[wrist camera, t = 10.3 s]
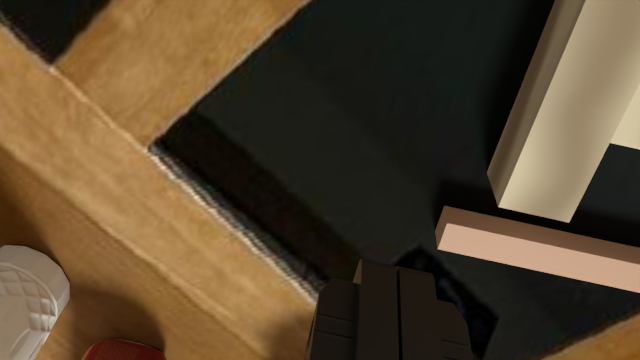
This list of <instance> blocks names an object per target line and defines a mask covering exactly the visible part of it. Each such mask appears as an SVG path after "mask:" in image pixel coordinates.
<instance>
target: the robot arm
mask: <svg viewBox="0 0 640 360" xmlns="http://www.w3.org/2000/svg"><path fill="white" fill-rule="evenodd" d="M470 346H471V344H470V339H469V333H468V327H467V323H466V322H465V320H464V319H463V317H462V316H461V314H460V313H459V311H458V310H457V308H456V307H455V305H454V304H453V303H448V302H443V301H439V300H436V292H435V283H434V277H433V274H431V273H426V272H422V271H417V270H412V269H407V268H403V267H395V266H393V265H388V264H383V263H379V262H374V261H369V260H364V259H360V261H359V264H358V267H357V271H356V274H355V278H354V281H353V282H348V281H344V280H339V279H334V278H332V279H331V280H330V281H329V282H328V283H327V285H326V286H325V287H324V288H323V289H322V291H321V292H320V293H319V297H318V301H317V305H316V309H315V313H314V317H313V321H312V325H311V329H310V333H309V337H308V341H307V345H306V351H305V358H304V360H473V355H472V350H471V349H470Z"/></svg>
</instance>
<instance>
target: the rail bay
mask: <svg viewBox="0 0 640 360" xmlns="http://www.w3.org/2000/svg"><path fill="white" fill-rule="evenodd" d="M435 233H436V241H437V248H438V249H440V250H444V251H449V252H453V253H458V254H463V255H467V256H472V257H477V258H481V259H486V260H491V261H495V262H500V263H504V264H509V265H514V266H518V267H523V268H528V269H532V270H537V271H542V272H546V273H551V274H555V275H560V276H565V277H569V278H574V279H579V280H583V281H588V282H593V283H597V284H602V285H606V286H611V287H616V288H620V289H625V290H630V291H634V292H639V293H640V248H638V247H633V246H628V245H624V244H619V243H615V242H610V241H605V240H601V239H596V238H591V237H587V236H582V235H578V234H573V233H568V232H564V231H559V230H554V229H550V228H545V227H541V226H536V225H531V224H527V223H522V222H517V221H513V220H508V219H504V218H499V217H494V216H490V215H485V214H480V213H476V212H471V211H467V210H462V209H457V208H453V207H448V206H444V208H443V211H442V213H441V216H440V219H439V222H438V224H437V227H436V230H435Z"/></svg>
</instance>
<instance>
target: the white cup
mask: <svg viewBox="0 0 640 360" xmlns="http://www.w3.org/2000/svg"><path fill="white" fill-rule="evenodd" d="M69 300H70V283H69V281H68V279H67V277H66V276H65V274H64V272H63V270H62V268H61V267H60V266H59V265H57V264H56V263H55V262H54V261H53V260H51V259H50V258H49V257H48V256H47V255H45V254H43V253H41V252H39V251H36V250H34V249H31V248H29V247H26V246H16V245H4V246H2V247H0V360H34V359H35V357H36V356H37V354H38V352H39V350H40V349H41V347H42V346H43V344H44V343H45V341H46V339H47V337H48V335H49V334H50V332H51V331H52V327H53V325H54V323H55V322H56V320H57V318H58V316H59V315H60V313H61V312H62V310H63V309H64V307H65V306H66V304H67V303H68V301H69Z"/></svg>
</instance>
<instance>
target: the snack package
mask: <svg viewBox="0 0 640 360" xmlns="http://www.w3.org/2000/svg"><path fill="white" fill-rule="evenodd" d="M81 360H166V358H165V355H164V354H163V353H162V352H161V351H159V350H157V349H155V348H153V347H150V346H147V345H145V344H141V343H136V342H133V341H127V340H122V339H103V340H101V341H98V342H96V343H94V344H93V345H92V346H91V347H90V348H89V349H88V350H87V351H86V352H85V354H84V356H83V357H82V359H81Z"/></svg>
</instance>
